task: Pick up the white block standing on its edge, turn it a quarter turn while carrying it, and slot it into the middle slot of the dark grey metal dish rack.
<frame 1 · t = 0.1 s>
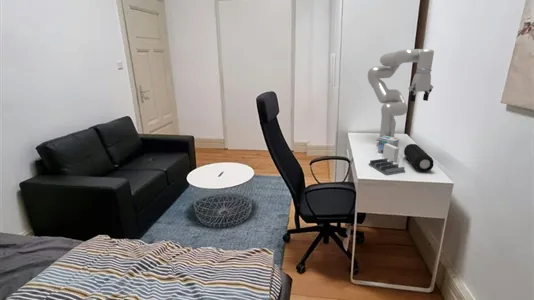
hand: (418, 100, 176), 37 cm above the table, tool pointing down, fingers open, 9 cm apart
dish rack: (386, 168, 172), on the table
light bulb box: (387, 153, 197), on the table
portable speaker: (416, 165, 177), on the table
white block: (389, 159, 186), on the table
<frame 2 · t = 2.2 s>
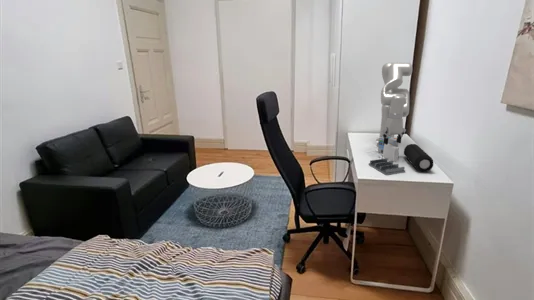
hand: (392, 143, 182), 11 cm above the table, tool pointing down, fingers open, 9 cm apart
nothing on the table moved.
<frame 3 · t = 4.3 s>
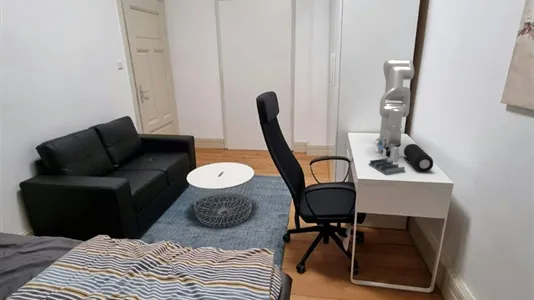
hand: (390, 155, 185), 2 cm above the table, tool pointing down, fingers closed on white block, 3 cm apart
white block: (389, 159, 186), on the table, touching gripper
everything else where it was.
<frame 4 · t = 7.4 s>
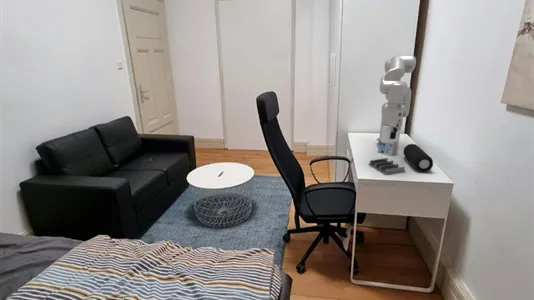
hand: (390, 137, 166), 19 cm above the table, tool pointing down, fingers closed on white block, 3 cm apart
white block: (389, 141, 166), point 17 cm above the table, touching gripper
everything else where it was.
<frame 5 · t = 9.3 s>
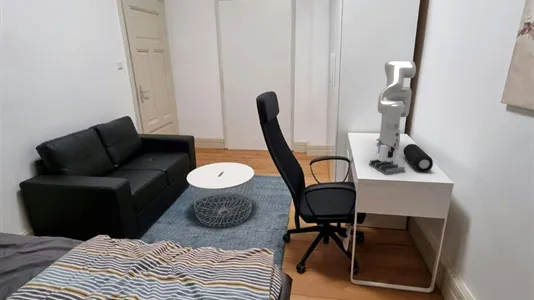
hand: (387, 156, 169), 8 cm above the table, tool pointing down, fingers closed on white block, 3 cm apart
white block: (387, 159, 170), point 6 cm above the table, touching gripper
everything else where it was.
when the fingers open (4 cm above the table, at t = 10.7 s): white block stays where it is, resting on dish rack.
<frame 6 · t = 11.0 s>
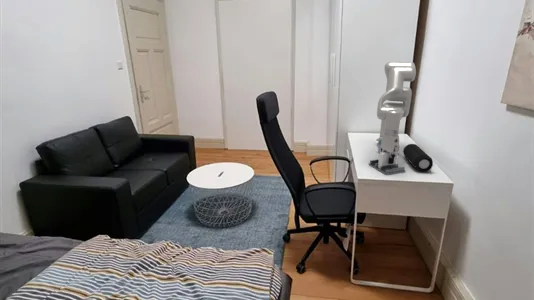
hand: (387, 161, 171), 4 cm above the table, tool pointing down, fingers open, 5 cm apart
white block: (386, 166, 172), point 1 cm above the table, touching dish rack
everything else where it was.
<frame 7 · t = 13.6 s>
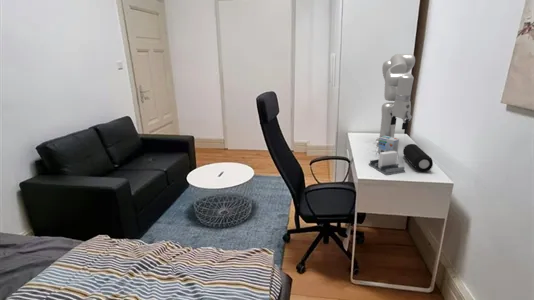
hand: (398, 126, 171), 23 cm above the table, tool pointing down, fingers open, 9 cm apart
nothing on the table moved.
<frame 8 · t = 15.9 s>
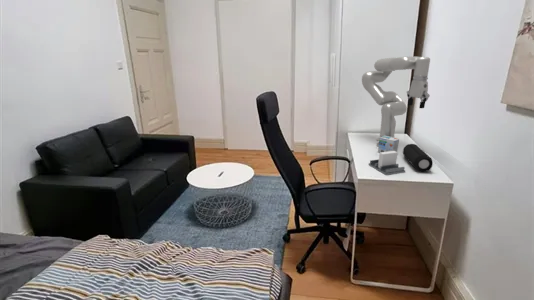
hand: (415, 106, 182), 32 cm above the table, tool pointing down, fingers open, 9 cm apart
nothing on the table moved.
at the end: white block 0.2 cm off-centre on the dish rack, point 1.0 cm above the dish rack's base; white block tilted 0°; the gripper is holding nothing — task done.
